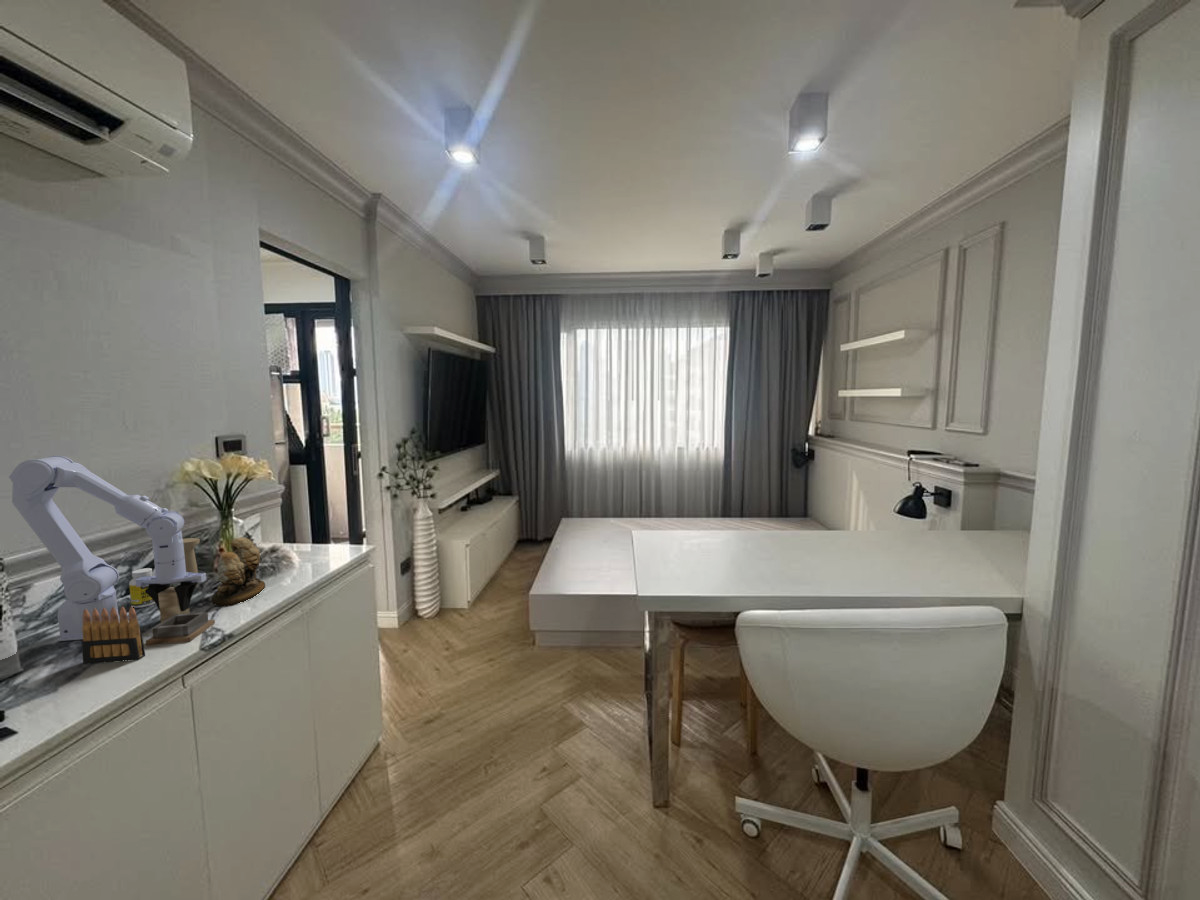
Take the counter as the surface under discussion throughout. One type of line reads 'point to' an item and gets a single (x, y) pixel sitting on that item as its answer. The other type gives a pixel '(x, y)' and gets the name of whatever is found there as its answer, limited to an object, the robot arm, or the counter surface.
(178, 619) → the socket
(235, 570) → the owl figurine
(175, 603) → the square peg
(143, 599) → the supplement bottle
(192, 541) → the handle
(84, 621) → the ammunition clip
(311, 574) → the counter surface
